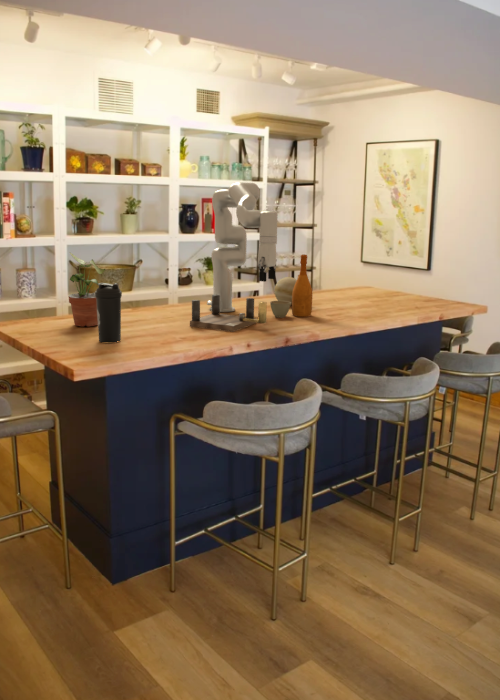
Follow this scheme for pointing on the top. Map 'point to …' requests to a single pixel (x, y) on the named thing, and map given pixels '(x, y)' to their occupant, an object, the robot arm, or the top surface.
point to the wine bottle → (302, 292)
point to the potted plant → (84, 298)
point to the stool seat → (220, 316)
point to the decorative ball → (285, 289)
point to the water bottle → (109, 312)
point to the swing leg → (261, 314)
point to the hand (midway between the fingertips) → (267, 280)
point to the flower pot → (280, 308)
